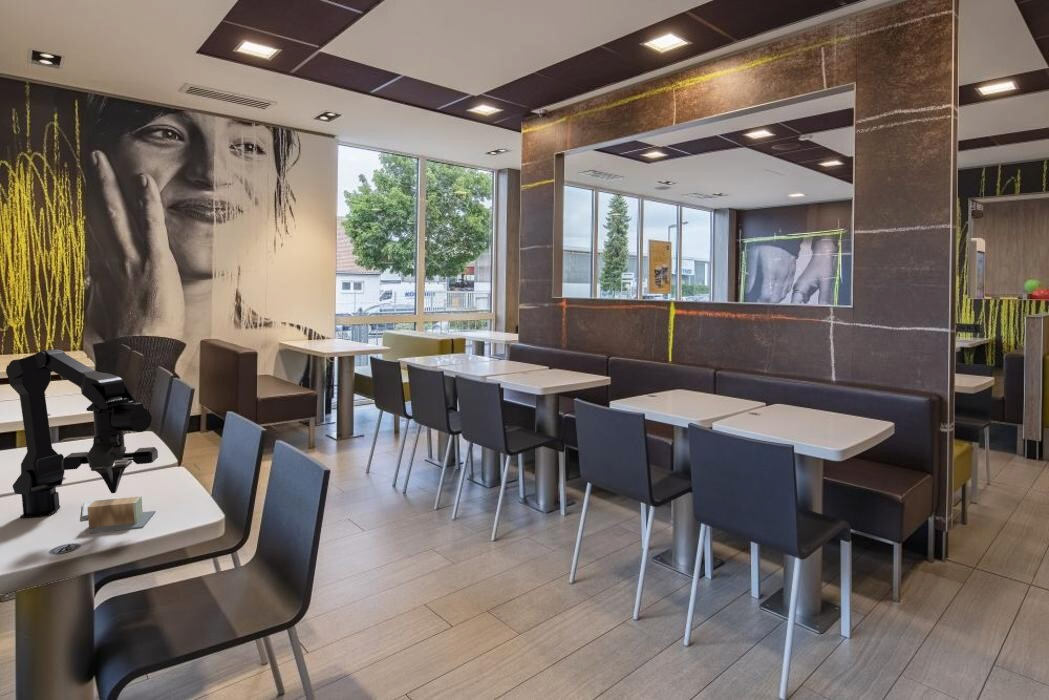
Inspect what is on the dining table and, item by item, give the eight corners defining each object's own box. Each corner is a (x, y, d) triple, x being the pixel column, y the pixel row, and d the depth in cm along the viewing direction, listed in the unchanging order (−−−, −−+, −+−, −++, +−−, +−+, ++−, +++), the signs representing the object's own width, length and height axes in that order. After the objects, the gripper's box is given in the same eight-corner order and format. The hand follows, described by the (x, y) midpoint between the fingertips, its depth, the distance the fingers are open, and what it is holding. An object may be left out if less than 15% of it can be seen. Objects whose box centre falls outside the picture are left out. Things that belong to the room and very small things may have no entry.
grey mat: (89, 533, 145) (89, 531, 145) (105, 516, 156) (105, 515, 156) (143, 527, 148) (143, 526, 148) (155, 511, 159) (155, 510, 159)
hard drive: (120, 509, 158) (119, 496, 168) (81, 516, 154) (82, 502, 164) (121, 515, 158) (120, 502, 169) (81, 522, 154) (83, 508, 164)
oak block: (87, 507, 147) (135, 502, 150) (94, 500, 152) (141, 496, 155) (89, 527, 148) (137, 522, 151) (96, 520, 153) (142, 515, 156)
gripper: (48, 440, 139) (54, 508, 140) (143, 433, 144) (148, 499, 146) (68, 429, 150) (73, 492, 151) (156, 424, 155) (160, 485, 157)
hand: (113, 492), depth 151 cm, fingers closed
